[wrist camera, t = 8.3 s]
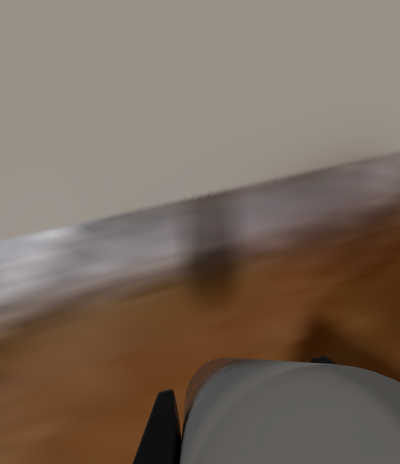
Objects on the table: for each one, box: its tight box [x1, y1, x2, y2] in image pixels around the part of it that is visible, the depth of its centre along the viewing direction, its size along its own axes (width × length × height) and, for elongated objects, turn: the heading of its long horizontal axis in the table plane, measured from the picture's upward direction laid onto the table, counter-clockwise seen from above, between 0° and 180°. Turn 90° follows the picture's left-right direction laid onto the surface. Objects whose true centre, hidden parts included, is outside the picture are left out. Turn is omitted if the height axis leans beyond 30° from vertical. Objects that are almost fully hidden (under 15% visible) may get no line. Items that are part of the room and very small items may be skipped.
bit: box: [180, 358, 400, 464], centre depth 9 cm, size 4×4×12 cm
